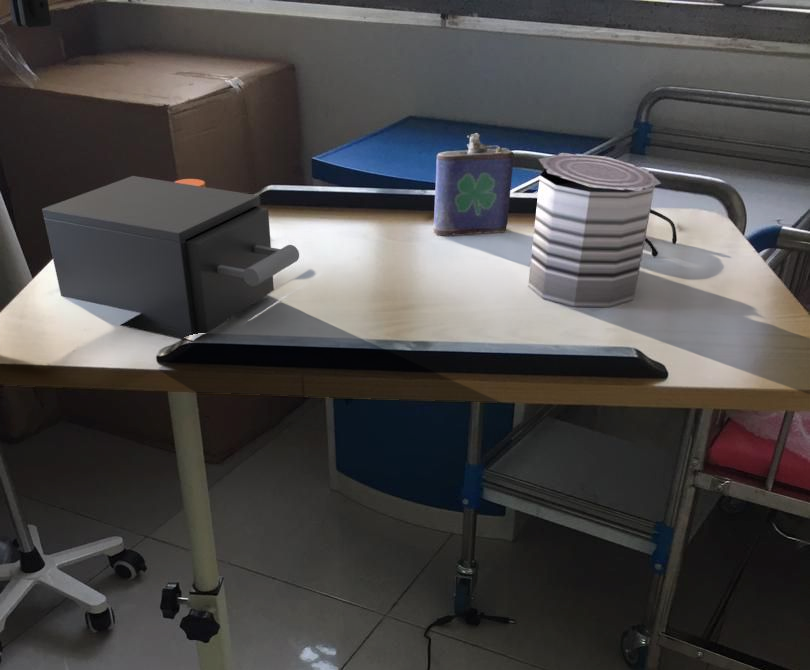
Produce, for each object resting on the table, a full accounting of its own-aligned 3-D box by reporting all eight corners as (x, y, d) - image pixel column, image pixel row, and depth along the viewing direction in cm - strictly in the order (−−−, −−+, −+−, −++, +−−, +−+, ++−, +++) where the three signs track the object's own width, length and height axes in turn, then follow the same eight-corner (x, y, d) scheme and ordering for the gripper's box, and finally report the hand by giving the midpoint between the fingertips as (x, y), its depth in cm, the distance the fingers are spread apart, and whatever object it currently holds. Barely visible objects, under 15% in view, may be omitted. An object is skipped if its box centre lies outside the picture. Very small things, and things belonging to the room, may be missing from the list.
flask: (436, 237, 104) (440, 139, 98) (429, 229, 106) (433, 133, 100) (510, 232, 106) (519, 136, 100) (501, 225, 108) (510, 130, 102)
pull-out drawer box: (313, 298, 86) (309, 215, 81) (249, 341, 77) (241, 252, 73) (160, 268, 91) (149, 189, 87) (86, 305, 83) (69, 220, 78)
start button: (194, 204, 100) (192, 188, 99) (168, 200, 101) (166, 184, 100) (212, 196, 103) (211, 181, 102) (187, 192, 104) (185, 177, 103)
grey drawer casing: (267, 295, 88) (260, 195, 83) (193, 341, 79) (179, 233, 73) (147, 271, 93) (132, 175, 87) (64, 312, 84) (41, 208, 78)
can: (558, 260, 98) (573, 145, 91) (655, 284, 93) (679, 163, 86) (506, 290, 91) (518, 166, 84) (608, 317, 85) (630, 188, 78)
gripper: (-119, -241, 71) (-60, 22, 82) (25, -244, 67) (67, 35, 77) (-44, -227, 77) (2, 17, 88) (92, -229, 72) (124, 29, 83)
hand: (32, 25), depth 82 cm, fingers closed
